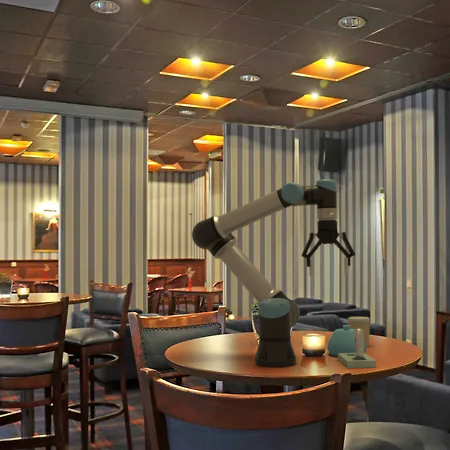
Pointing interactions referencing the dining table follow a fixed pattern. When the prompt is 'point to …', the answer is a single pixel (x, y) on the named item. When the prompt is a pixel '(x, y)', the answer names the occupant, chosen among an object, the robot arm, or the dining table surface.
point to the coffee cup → (361, 326)
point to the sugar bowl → (342, 341)
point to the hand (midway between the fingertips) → (328, 275)
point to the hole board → (356, 361)
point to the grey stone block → (359, 344)
